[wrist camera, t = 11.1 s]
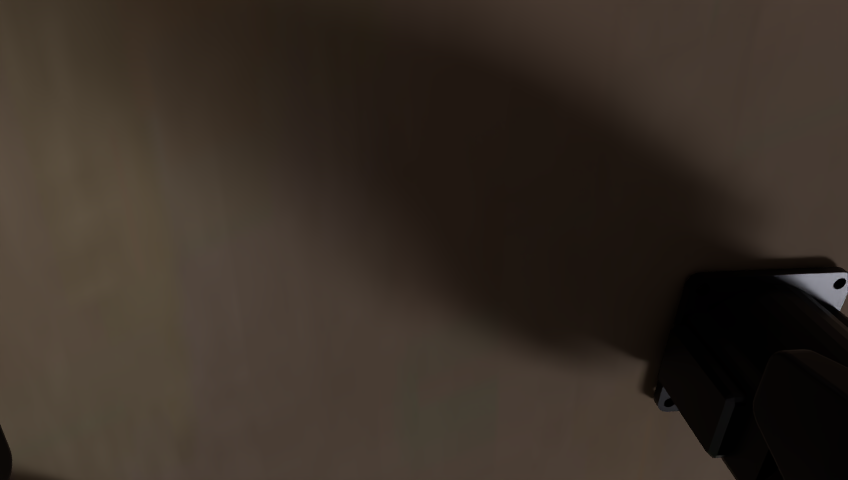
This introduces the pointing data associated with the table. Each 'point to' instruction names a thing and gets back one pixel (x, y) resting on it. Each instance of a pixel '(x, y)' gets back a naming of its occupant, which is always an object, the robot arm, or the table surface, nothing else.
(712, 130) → the table surface
